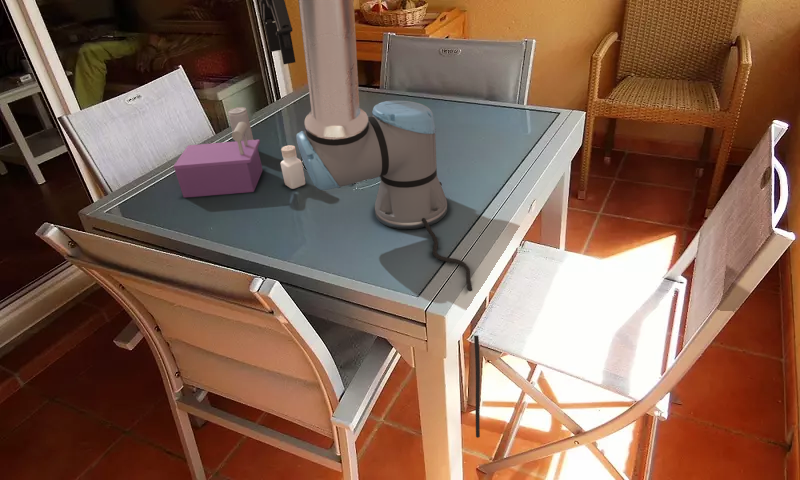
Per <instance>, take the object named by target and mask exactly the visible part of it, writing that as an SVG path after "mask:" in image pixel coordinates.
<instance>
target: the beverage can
mask: <svg viewBox="0 0 800 480" xmlns="http://www.w3.org/2000/svg"><path fill="white" fill-rule="evenodd" d="M227 115H228V119H229V123H230V127H231V131H232V132H233V131H234V130H235V128H236V126H237V125H238V123H239V122H245V123H246V124H247V126H248V128H247V130H246V132H245V134H246V138H247V140H254V136H253V132H252V131H253V130H252V127H251V122H250V119H249V113H248V110H247V108H246V107H243V106H236V107H233V108H230V109H229V110H228V112H227ZM241 141H243V138H242V140H241Z"/></svg>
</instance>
